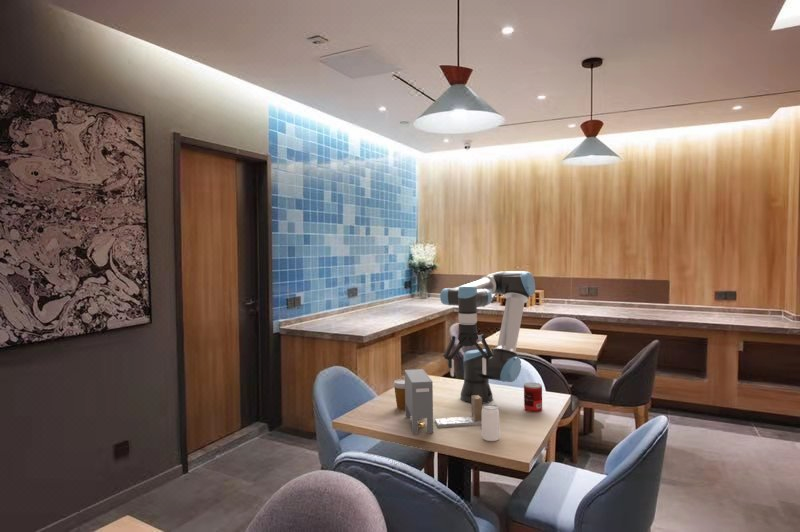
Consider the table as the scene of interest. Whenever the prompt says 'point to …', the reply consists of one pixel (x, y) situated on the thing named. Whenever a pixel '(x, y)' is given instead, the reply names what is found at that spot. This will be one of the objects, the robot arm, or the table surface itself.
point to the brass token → (421, 424)
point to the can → (490, 422)
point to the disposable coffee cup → (400, 393)
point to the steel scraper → (464, 421)
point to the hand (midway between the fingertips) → (468, 375)
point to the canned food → (533, 397)
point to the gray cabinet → (419, 398)
